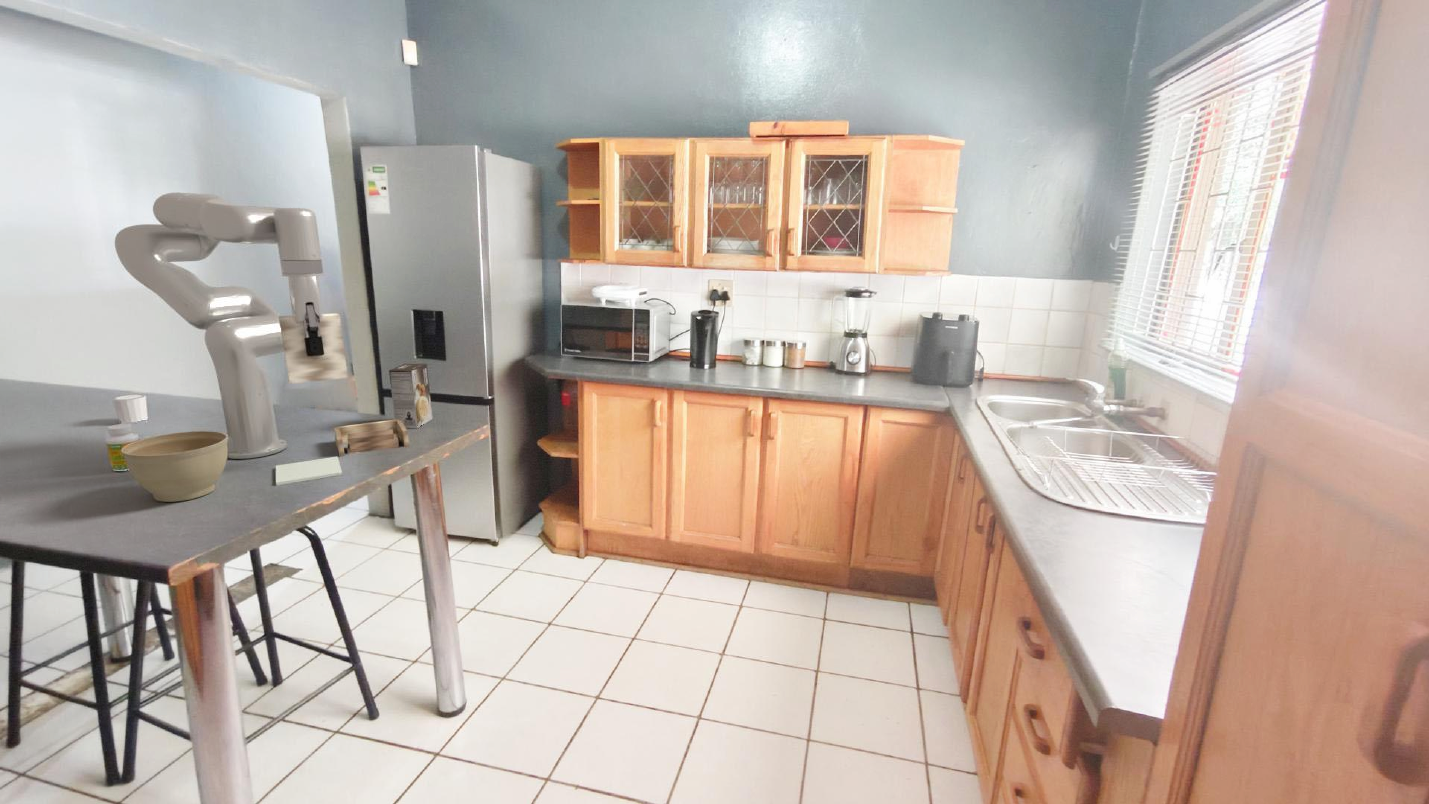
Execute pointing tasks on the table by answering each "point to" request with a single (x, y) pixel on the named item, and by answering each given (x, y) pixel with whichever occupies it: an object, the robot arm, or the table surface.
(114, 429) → the supplement bottle
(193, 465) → the planter bowl
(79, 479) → the table surface
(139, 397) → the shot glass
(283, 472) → the sage board
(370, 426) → the pine rack
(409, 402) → the coffee box
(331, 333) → the birch sheet
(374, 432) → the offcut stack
